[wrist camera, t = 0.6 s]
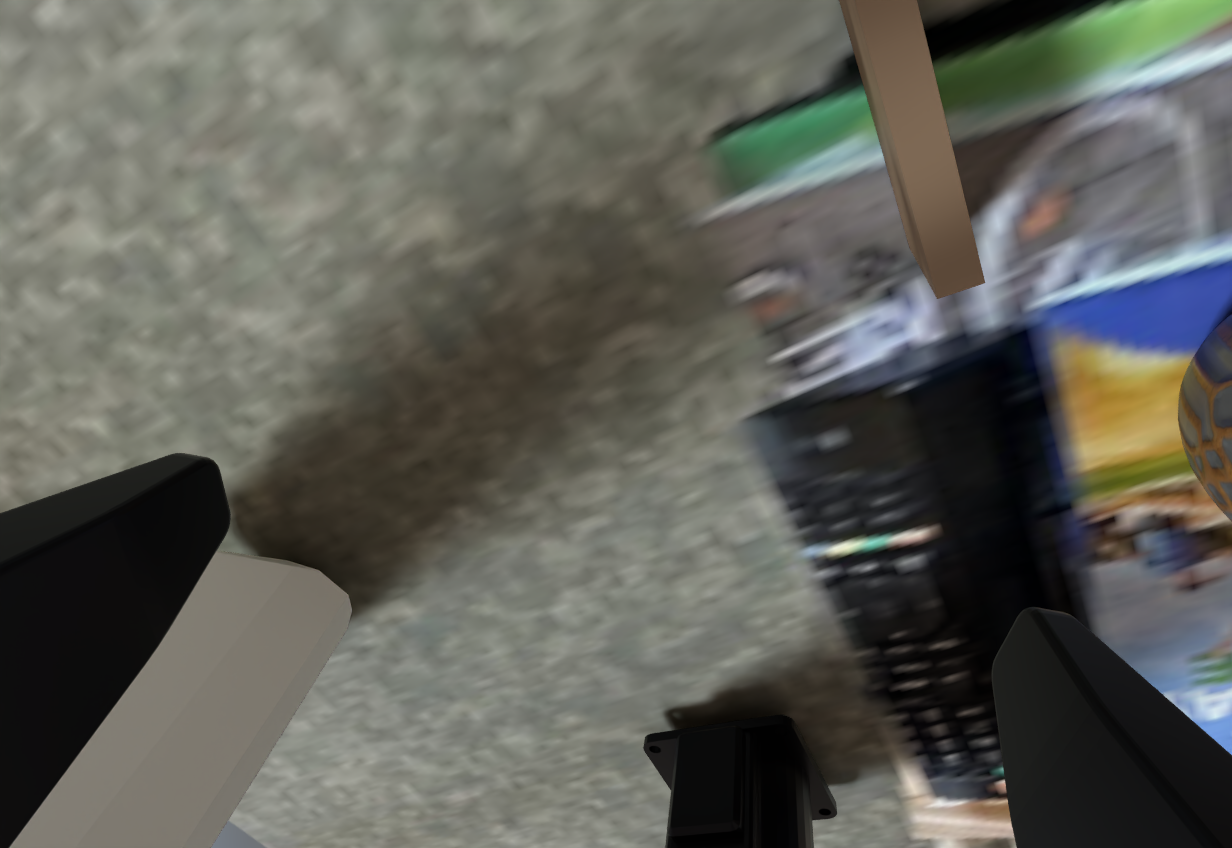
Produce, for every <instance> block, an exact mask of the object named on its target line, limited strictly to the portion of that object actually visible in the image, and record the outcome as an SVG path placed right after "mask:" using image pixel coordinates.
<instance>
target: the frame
mask: <svg viewBox="0 0 1232 848" xmlns="http://www.w3.org/2000/svg"><path fill="white" fill-rule="evenodd" d="M839 1H840V5H841V8H842V12H843V15H844V19H845V22H846V26H847V29H848V33H849V37H850V40H851V44H852V47H853V51H854V54H855V58H856V61H857V65H858V68H859V72H860V75H861V79H862V82H863V86H864V89H865V93H866V96H867V100H868V103H869V107H870V110H871V114H872V117H873V121H874V124H875V128H876V131H877V135H878V138H879V142H880V145H881V149H882V152H883V156H884V159H885V163H886V166H887V170H888V173H889V177H890V180H891V184H892V187H893V191H894V194H895V198H896V202H897V205H898V209H899V212H900V216H901V219H902V223H903V226H904V230H905V233H906V237H907V240H908V244H909V247H910V250H911V252H912V253H913V255H914V257H915V259H916V261H917V263H918V264H919V266H920V268H921V270H922V272H923V274H924V275H925V277H926V279H927V281H928V283H929V285H930V286H931V288H932V290H933V292H934V294H935V296H936V297H937V299H939V298H942V297H945V296H948V295H951V294H954V293H957V292H960V291H963V290H966V289H969V288H972V287H975V286H978V285H981V284H984V283H985V280H984V276H983V272H982V268H981V264H980V260H979V255H978V251H977V247H976V243H975V239H974V235H973V231H972V226H971V222H970V218H969V214H968V210H967V206H966V202H965V197H964V193H963V189H962V185H961V181H960V177H959V173H958V168H957V164H956V160H955V156H954V152H953V148H952V144H951V139H950V135H949V131H948V127H947V123H946V119H945V115H944V110H943V106H942V102H941V98H940V94H939V90H938V86H937V82H936V77H935V73H934V69H933V65H932V61H931V57H930V53H929V48H928V44H927V40H926V36H925V32H924V28H923V24H922V19H921V15H920V11H919V7H918V3H917V0H839Z"/></svg>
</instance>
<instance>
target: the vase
mask: <svg viewBox="0 0 1232 848" xmlns="http://www.w3.org/2000/svg"><path fill="white" fill-rule="evenodd" d="M1178 421H1179V429H1180V434H1181V439H1182V443H1183V447H1184V450H1185V452H1186V455H1187V458H1188V460H1189V463H1190V465H1191V467H1192V469H1193V471H1194V473H1195V475H1196V476H1197V478H1198V479H1199V481H1200V483H1201V484H1202V486H1203V487H1204V489H1205V490H1206V492H1207V493H1208V494H1209V496H1210V497H1211V498H1212V499H1213V501H1214V502H1215V503H1216V505H1217V506H1218V507H1219V508H1220V509H1221V511H1222V512H1223V513H1224V514H1225V515H1226V516H1227V517H1228V518H1229V519H1230V520H1231V521H1232V314H1231V315H1230V316H1229V317H1227V318H1226V319H1225V320H1224V321H1223V322H1222V323H1221V324H1219V325H1218V326H1217V327H1216V328H1215V329H1214V330H1213V332H1212V333H1211V334H1210V335H1209V336H1208V337H1207V338H1206V340H1205V341H1204V342H1203V344H1202V345H1201V346H1200V348H1199V349H1198V351H1197V352H1196V354H1195V356H1194V357H1193V359H1192V361H1191V363H1190V365H1189V367H1188V369H1187V371H1186V373H1185V375H1184V378H1183V381H1182V384H1181V388H1180V393H1179V403H1178Z"/></svg>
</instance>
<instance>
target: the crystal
mask: <svg viewBox="0 0 1232 848" xmlns="http://www.w3.org/2000/svg"><path fill="white" fill-rule="evenodd" d="M351 613H352V608H351V603H350V599H349V595H348V594H347V593H346V592H344V591H343V590H342V589H341V588H340V587H338V586H337V585H336V584H335V583H334V582H332V581H331V580H330V579H329V578H328V577H326V576H325V575H324V574H323V573H322V572H320V571H319V570H317V569H313V568H310V567H307V566H304V565H301V564H297V563H294V562H291V561H288V560H282V559H275V558H268V557H260V556H253V555H246V554H239V553H232V552H225V551H218V550H217V551H216V553H215V554H214V556H213V558H212V559H211V561H210V563H209V564H208V566H207V568H206V569H205V571H204V573H203V574H202V576H201V578H200V579H199V581H198V583H197V584H196V586H195V588H194V589H193V591H192V593H191V594H190V596H189V598H188V599H187V601H186V603H185V604H184V606H183V608H182V609H181V611H180V613H179V614H178V616H177V618H176V619H175V621H174V623H173V624H172V626H171V627H170V629H169V631H168V632H167V634H166V635H165V637H164V638H163V640H162V641H161V643H160V645H159V646H158V648H157V649H156V650H155V652H154V653H153V655H152V656H151V658H150V659H149V660H148V662H147V663H146V665H145V666H144V667H143V669H142V670H141V671H140V673H139V674H138V675H137V677H136V678H135V679H134V681H133V682H132V683H131V685H130V686H129V688H128V689H127V690H126V692H125V693H124V694H123V696H122V697H121V698H120V700H119V701H118V702H117V704H116V705H115V706H114V708H113V709H112V710H111V712H110V713H109V714H108V716H107V717H106V718H105V720H104V721H103V722H102V724H101V725H100V727H99V728H98V729H97V731H96V732H95V733H94V735H93V736H92V737H91V739H90V740H89V741H88V743H87V744H86V745H85V747H84V748H83V749H82V751H81V752H80V753H79V755H78V756H77V757H76V759H75V760H74V762H73V763H72V764H71V766H70V767H69V768H68V770H67V771H66V772H65V774H64V775H63V776H62V778H61V779H60V780H59V782H58V783H57V784H56V786H55V787H54V788H53V790H52V791H51V792H50V794H49V795H48V796H47V798H46V799H45V801H44V802H43V803H42V805H41V806H40V807H39V809H38V810H37V811H36V813H35V814H34V815H33V817H32V818H31V819H30V821H29V822H28V823H27V825H26V826H25V827H24V829H23V830H22V831H21V833H20V834H19V836H18V837H17V838H16V840H15V841H14V842H13V844H12V845H11V846H10V848H211V847H212V845H213V844H214V842H215V841H216V839H217V837H218V836H219V834H220V832H221V831H222V829H223V828H224V826H225V825H226V823H227V821H228V820H229V818H230V817H231V815H232V813H233V812H234V810H235V809H236V807H237V805H238V804H239V802H240V801H241V799H242V797H243V796H244V794H245V793H246V791H247V789H248V788H249V786H250V785H251V783H252V781H253V780H254V778H255V776H256V775H257V773H258V772H259V770H260V768H261V767H262V765H263V764H264V762H265V760H266V759H267V757H268V756H269V754H270V752H271V751H272V749H273V748H274V746H275V744H276V743H277V741H278V740H279V738H280V736H281V735H282V733H283V732H284V730H285V728H286V727H287V725H288V724H289V722H290V720H291V719H292V717H293V716H294V714H295V712H296V711H297V709H298V708H299V706H300V704H301V703H302V701H303V700H304V698H305V696H306V695H307V693H308V692H309V690H310V688H311V687H312V685H313V684H314V682H315V680H316V679H317V677H318V676H319V674H320V672H321V671H322V669H323V668H324V666H325V664H326V663H327V661H328V660H329V658H330V656H331V655H332V653H333V652H334V650H335V648H336V647H337V645H338V644H339V642H340V640H341V639H342V637H343V636H344V634H345V632H346V631H347V629H348V625H349V621H350V617H351Z"/></svg>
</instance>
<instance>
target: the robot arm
mask: <svg viewBox="0 0 1232 848" xmlns="http://www.w3.org/2000/svg"><path fill="white" fill-rule="evenodd" d="M230 517H231V514H230V509H229V505H228V501H227V497H226V493H225V489H224V485H223V481H222V477H221V473H220V470H219V467H218V465H217V464H216V463H215V462H214V460H212V459H210V458H207V457H202V456H196V455H191V454H185V453H175V454H171V455H168V456H165V457H162V458H159V459H156V460H153V461H151V462H148V463H145V464H142V465H139V466H136V467H133V468H130V469H127V470H124V471H122V472H119V473H116V474H113V475H110V476H107V477H104V478H101V479H98V480H95V481H92V482H90V483H87V484H84V485H81V486H78V487H75V488H72V489H69V490H66V491H63V492H61V493H58V494H55V495H52V496H49V497H46V498H43V499H40V500H37V501H34V502H32V503H29V504H26V505H23V506H20V507H17V508H14V509H11V510H8V511H5V512H3V513H0V848H10V846H11V845H12V844H13V842H14V841H15V840H16V838H17V837H18V836H19V834H20V833H21V831H22V830H23V829H24V827H25V826H26V825H27V823H28V822H29V821H30V819H31V818H32V817H33V815H34V814H35V813H36V811H37V810H38V809H39V807H40V806H41V805H42V803H43V802H44V801H45V799H46V798H47V796H48V795H49V794H50V792H51V791H52V790H53V788H54V787H55V786H56V784H57V783H58V782H59V780H60V779H61V778H62V776H63V775H64V774H65V772H66V771H67V770H68V768H69V767H70V766H71V764H72V763H73V762H74V760H75V759H76V757H77V756H78V755H79V753H80V752H81V751H82V749H83V748H84V747H85V745H86V744H87V743H88V741H89V740H90V739H91V737H92V736H93V735H94V733H95V732H96V731H97V729H98V728H99V727H100V725H101V724H102V722H103V721H104V720H105V718H106V717H107V716H108V714H109V713H110V712H111V710H112V709H113V708H114V706H115V705H116V704H117V702H118V701H119V700H120V698H121V697H122V696H123V694H124V693H125V692H126V690H127V689H128V688H129V686H130V685H131V683H132V682H133V681H134V679H135V678H136V677H137V675H138V674H139V673H140V671H141V670H142V669H143V667H144V666H145V665H146V663H147V662H148V660H149V659H150V658H151V656H152V655H153V653H154V652H155V650H156V649H157V648H158V646H159V645H160V643H161V641H162V640H163V638H164V637H165V635H166V634H167V632H168V631H169V629H170V627H171V626H172V624H173V623H174V621H175V619H176V618H177V616H178V614H179V613H180V611H181V609H182V608H183V606H184V604H185V603H186V601H187V599H188V598H189V596H190V594H191V593H192V591H193V589H194V588H195V586H196V584H197V583H198V581H199V579H200V578H201V576H202V574H203V573H204V571H205V569H206V568H207V566H208V564H209V563H210V561H211V559H212V558H213V556H214V554H215V553H216V551H217V549H218V548H219V546H220V544H221V543H222V541H223V539H224V538H225V536H226V534H227V531H228V529H229V525H230ZM992 686H993V693H994V701H995V708H996V716H997V723H998V731H999V738H1000V746H1001V753H1002V761H1003V768H1004V775H1005V783H1006V790H1007V798H1008V804H1009V810H1010V817H1011V823H1012V828H1013V832H1014V837H1015V841H1016V846H1017V848H1232V755H1231V754H1230V753H1229V752H1227V751H1226V750H1225V749H1224V748H1223V747H1222V746H1221V745H1220V744H1218V743H1217V742H1216V741H1215V740H1214V739H1213V738H1212V737H1210V736H1209V735H1208V734H1207V733H1206V732H1205V731H1204V730H1202V729H1201V728H1200V727H1199V726H1198V725H1197V724H1196V723H1194V722H1193V721H1192V720H1191V719H1190V718H1189V717H1188V716H1186V715H1185V714H1184V713H1183V712H1182V711H1181V710H1180V709H1178V708H1177V707H1176V706H1175V705H1174V704H1173V703H1172V702H1171V701H1169V700H1168V699H1167V698H1166V697H1165V696H1164V695H1163V694H1161V693H1160V692H1159V691H1158V690H1157V689H1156V688H1155V687H1153V686H1152V685H1151V684H1150V683H1149V682H1148V681H1147V680H1145V679H1144V678H1143V677H1142V676H1141V675H1140V674H1139V673H1137V672H1136V671H1135V670H1134V669H1133V668H1132V667H1131V666H1129V665H1128V664H1127V663H1126V662H1125V661H1124V660H1123V659H1121V658H1120V657H1119V656H1118V655H1117V654H1116V653H1115V652H1114V651H1112V650H1111V649H1110V648H1109V647H1108V646H1107V645H1106V644H1104V643H1103V642H1102V641H1101V640H1100V639H1099V638H1098V637H1096V636H1095V635H1094V634H1093V633H1092V632H1091V631H1090V630H1088V629H1087V628H1086V627H1085V626H1084V625H1083V624H1082V623H1080V622H1079V621H1078V620H1077V619H1076V618H1074V617H1073V616H1071V615H1070V614H1067V613H1064V612H1059V611H1054V610H1048V609H1043V608H1037V607H1029V608H1026V609H1024V610H1023V611H1022V612H1021V613H1020V614H1019V615H1018V617H1017V619H1016V620H1015V622H1014V624H1013V626H1012V628H1011V629H1010V631H1009V633H1008V635H1007V637H1006V639H1005V640H1004V642H1003V644H1002V646H1001V648H1000V649H999V651H998V653H997V655H996V657H995V659H994V663H993V667H992ZM643 748H644V751H645V753H646V754H647V756H648V757H649V758H650V760H651V761H652V763H653V764H654V766H655V767H656V769H657V770H658V772H659V773H660V775H661V776H662V778H663V779H664V781H665V782H666V784H667V785H668V787H669V788H670V790H671V798H670V808H669V817H668V826H667V836H666V845H665V848H814V842H813V827H812V820H820V819H830V818H833V817H835V816H836V815H837V807H836V801H835V799H834V797H833V796H832V794H831V792H830V790H829V788H828V786H827V784H826V782H825V780H824V778H823V776H822V774H821V772H820V770H819V768H818V767H817V765H816V763H815V761H814V759H813V757H812V755H811V753H810V751H809V749H808V747H807V745H806V743H805V741H804V740H803V738H802V736H801V734H800V732H799V730H798V728H797V726H796V724H795V722H794V721H793V719H792V718H790V717H788V716H785V715H774V716H768V717H761V718H754V719H747V720H741V721H734V722H727V723H720V724H714V725H707V726H700V727H693V728H687V729H680V730H673V731H666V732H660V733H653V734H649V735H647V736H646V737H645V741H644V747H643Z"/></svg>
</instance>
